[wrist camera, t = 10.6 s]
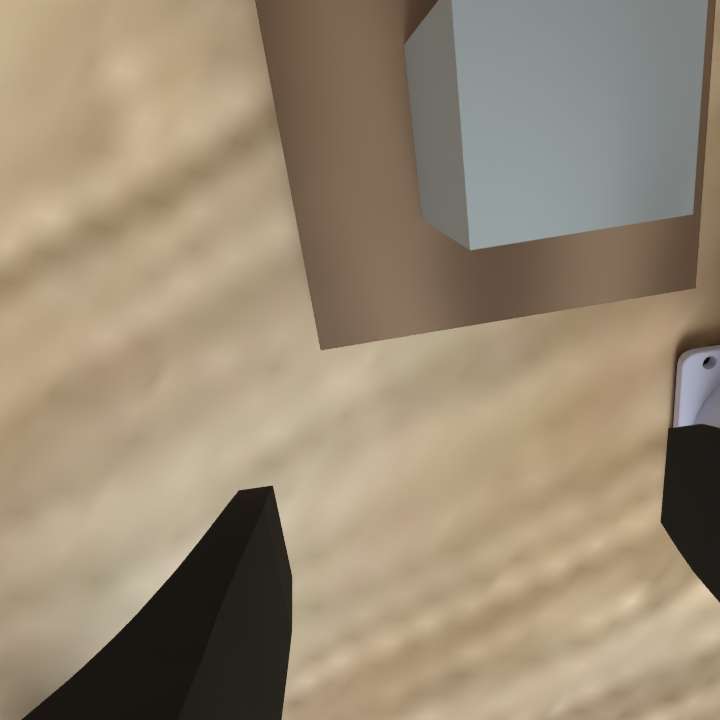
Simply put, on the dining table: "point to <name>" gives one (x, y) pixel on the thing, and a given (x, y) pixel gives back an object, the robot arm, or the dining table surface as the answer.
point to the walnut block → (402, 200)
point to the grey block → (555, 115)
